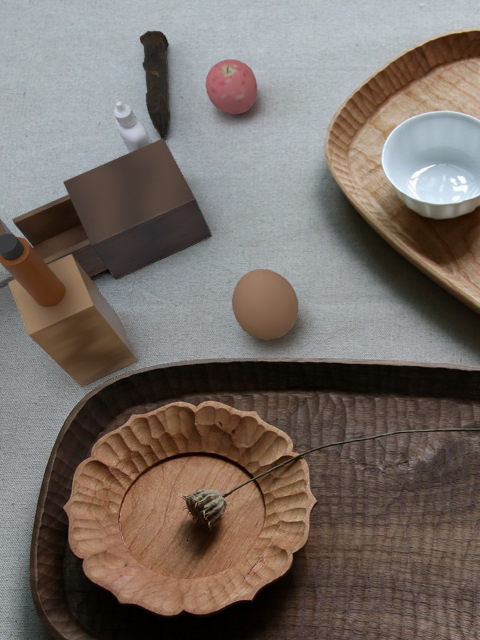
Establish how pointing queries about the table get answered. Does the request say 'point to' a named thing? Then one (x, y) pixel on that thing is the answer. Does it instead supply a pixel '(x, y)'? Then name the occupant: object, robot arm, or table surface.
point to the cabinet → (137, 209)
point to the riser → (76, 326)
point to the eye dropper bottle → (130, 128)
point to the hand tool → (156, 79)
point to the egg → (265, 304)
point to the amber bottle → (30, 270)
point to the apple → (231, 86)
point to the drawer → (57, 235)
